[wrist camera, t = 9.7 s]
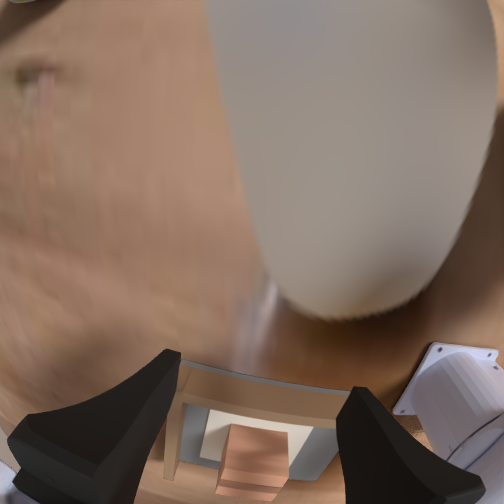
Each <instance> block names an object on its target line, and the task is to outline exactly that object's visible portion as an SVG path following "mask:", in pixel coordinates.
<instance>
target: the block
mask: <svg viewBox="0 0 504 504" xmlns="http://www.w3.org/2000/svg"><path fill="white" fill-rule="evenodd" d="M288 478H289V456H288V432H280V431H273V430H267V429H261V428H255V427H249V426H244V425H238V424H233V423H231V426H230V429H229V432H228V435H227V438H226V442H225V445H224V448H223V451H222V455H221V461H220V467H219V473H218V479H217V485H216V491H215V493H216V494H221V495H227V496H233V497H239V498H246V499H254V500H262V501H272V500H273V499H274V498H275V496H276V495H277V494H278V493H279V492H280V490H281V489H282V487H283V485H284V484H285V482H286V481H287V479H288Z"/></svg>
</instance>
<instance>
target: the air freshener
mask: <svg viewBox="0 0 504 504" xmlns="http://www.w3.org/2000/svg"><path fill="white" fill-rule="evenodd" d="M8 1H10V2H12V3H26V2H31V1H34V0H8Z"/></svg>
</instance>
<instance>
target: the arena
mask: <svg viewBox="0 0 504 504" xmlns="http://www.w3.org/2000/svg"><path fill="white" fill-rule="evenodd" d="M350 392H351V391H342V390H333V389H326V388H318V387H311V386H305V385H298V384H292V383H286V382H280V381H275V380H269V379H264V378H259V377H254V376H249V375H244V374H240V373H235V372H231V371H226V370H222V369H218V368H214V367H210V366H206V365H202V364H198V363H194V362H190V361H187V360H183V359H182V360H181V363H180V366H179V373H178V381H177V389H176V392H175V395H174V398H173V401H172V404H171V407H170V410H169V412H168V414H167V424H166V438H165V453H164V473H163V478H164V479H167V480H171V481H173V479H174V476H175V473H176V469H177V466H178V462H179V460H181V461H185V462H189V463H193V464H197V465H202V466H206V467H210V468H215V469H219V467H220V461H221V455H222V451H223V448H224V445H225V442H226V438H227V435H228V432H229V429H230V426H231V423H233V424H238V425H244V426H249V427H255V428H261V429H267V430H273V431H280V432H288V456H289V478H288V479H292V480H306V481H316V480H317V478H318V477H319V476H320V475H321V473H322V472H323V471H324V469H325V468H326V467H327V466H328V464H329V463H330V462H331V460H332V459H333V458H334V456H335V455H336V454H337V452H338V451H339V449H338V443H337V436H336V417H337V415H338V414H339V412H340V410H341V408H342V407H343V405H344V403H345V401H346V400H347V398H348V396H349V394H350Z"/></svg>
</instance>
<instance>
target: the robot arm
mask: <svg viewBox="0 0 504 504" xmlns="http://www.w3.org/2000/svg"><path fill="white" fill-rule="evenodd" d="M439 348H440V349H439ZM438 349H439V350H438ZM498 353H499V352H498V351H497V350H496V349H488V348H479V347H470V346H462V345H454V344H446V343H439V342H434V343H432V344H431V345H430V347H429V349H428V351H427V352H426V354H425V356H424V358H423V360H422V362H421V364H420V365H419V367H418V369H417V371H416V372H415V374H414V376H413V378H412V379H411V381H410V383H409V384H408V386H407V388H406V389H405V391H404V393H403V394H402V396H401V397H400V399H399V400H398V402H397V404H396V405H395V407H394V408H393V410H392V411H393V414H394V415H417V417H418V419H419V421H420V423H421V425H422V427H423V429H424V432H425V434H426V436H427V438H428V440H429V442H430V445H431V447H432V449H433V451H434V453H433V452H431V451H430V450H429V449H427V448H426V447H425V446H423V445H422V444H421V443H420V442H418V441H417V440H416V439H415V438H414V437H413V436H411V435H410V434H409V433H408V432H407V431H406V430H405V429H404V428H403V427H402V426H401V425H400V424H399V423H398V422H397V421H396V420H395V418H394V417H393V416H392V415H391V414H390V413H389V412H388V411H387V410H386V408H385V407H384V406H383V405H382V404H381V403H380V402H379V400H378V399H377V398H376V397H375V396H374V395H373V394H372V393H371V392H370V391H369V390H368V389H367V388H366V387H357V386H354V387H353V389H352V391H351V392H350V394H349V396H348V398H347V400H346V401H345V403H344V405H343V407H342V408H341V410H340V412H339V414H338V415H337V417H336V436H337V443H338V449H339V454H340V459H341V464H342V470H343V475H344V481H345V494H346V504H504V370H503V369H502V368H501V367H500V366H499V365H498V364H497V363H496V362H495V360H496V358H497V356H498ZM180 358H181V353H180V352H177V351H173V350H170V349H165V350H163V351H162V352H161V353H160V354H159V355H158V356H157V357H155V358H154V359H153V360H152V361H151V362H150V363H148V364H147V365H146V366H145V367H143V368H142V369H141V370H139V371H138V372H137V373H135V374H134V375H133V376H131V377H130V378H128V379H127V380H125V381H123V382H122V383H120V384H119V385H117V386H115V387H114V388H112V389H110V390H108V391H106V392H104V393H102V394H100V395H98V396H96V397H94V398H91V399H89V400H87V401H84V402H82V403H79V404H76V405H73V406H69V407H66V408H62V409H58V410H54V411H49V412H42V413H36V414H28V415H27V416H26V417H25V418H24V419H23V420H22V421H21V422H20V423H19V424H18V426H17V427H16V428H15V429H14V431H13V432H12V433H11V435H10V436H9V437H8V439H7V443H8V446H9V448H10V450H11V452H12V454H13V455H14V457H15V459H16V460H17V462H18V464H19V465H20V467H21V469H20V470H19V472H18V473H16V471H14V470H13V469H12V468H11V467H10V466H9V465H7V464H6V463H4V462H3V461H2V460H0V504H133V503H134V499H135V496H136V492H137V489H138V486H139V482H140V479H141V476H142V473H143V470H144V467H145V464H146V461H147V458H148V455H149V453H150V450H151V448H152V446H153V444H154V442H155V439H156V437H157V435H158V433H159V431H160V429H161V427H162V425H163V423H164V421H165V418H166V416H167V414H168V412H169V410H170V407H171V404H172V401H173V398H174V395H175V392H176V389H177V381H178V373H179V366H180Z"/></svg>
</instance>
